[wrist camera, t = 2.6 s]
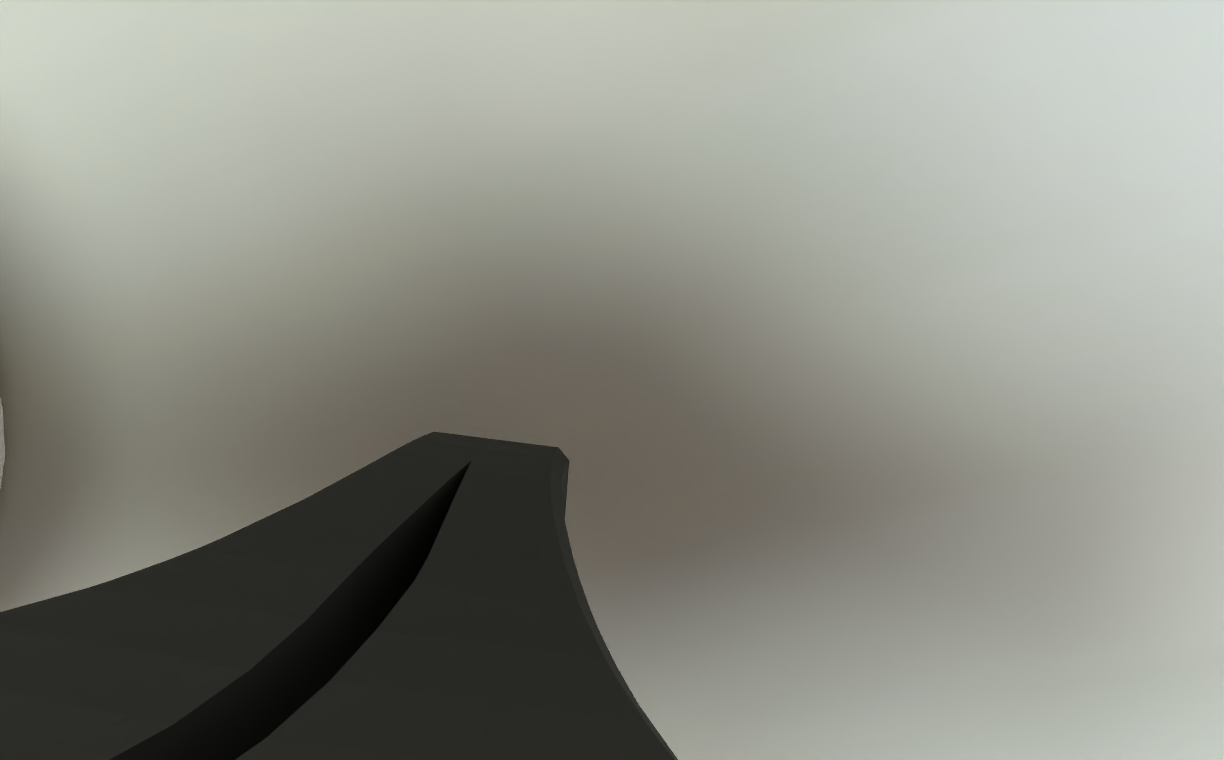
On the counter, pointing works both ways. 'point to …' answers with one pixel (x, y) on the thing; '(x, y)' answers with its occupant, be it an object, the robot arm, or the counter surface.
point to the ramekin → (1, 442)
